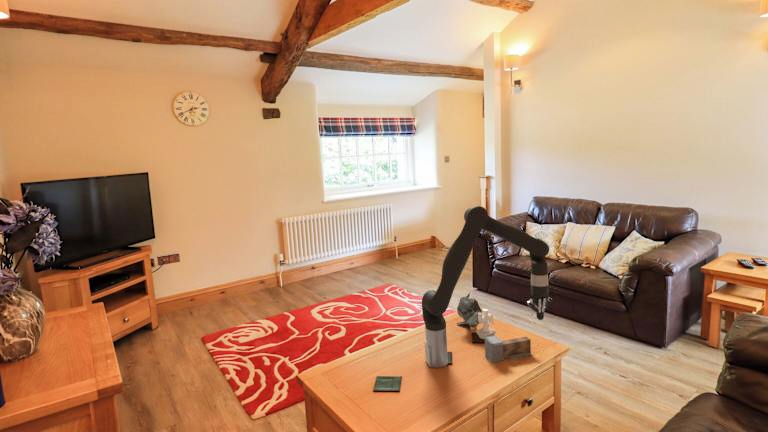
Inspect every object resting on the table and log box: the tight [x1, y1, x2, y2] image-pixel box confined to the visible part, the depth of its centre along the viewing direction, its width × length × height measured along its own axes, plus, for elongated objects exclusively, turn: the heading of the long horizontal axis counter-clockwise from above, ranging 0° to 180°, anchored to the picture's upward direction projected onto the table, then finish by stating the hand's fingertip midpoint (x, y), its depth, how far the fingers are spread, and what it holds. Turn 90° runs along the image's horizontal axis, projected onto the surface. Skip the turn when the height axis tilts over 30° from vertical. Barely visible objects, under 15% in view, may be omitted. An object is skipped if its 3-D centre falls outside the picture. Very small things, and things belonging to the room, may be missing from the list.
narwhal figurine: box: [456, 292, 482, 333], centre depth 223 cm, size 14×15×18 cm
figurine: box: [475, 307, 497, 341], centre depth 212 cm, size 7×9×15 cm
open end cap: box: [508, 352, 531, 361], centre depth 195 cm, size 10×7×2 cm
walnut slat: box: [501, 336, 532, 360], centre depth 194 cm, size 14×3×7 cm, turn 102°
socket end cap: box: [484, 335, 505, 364], centre depth 192 cm, size 6×7×9 cm
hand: (540, 319), depth 195 cm, fingers closed
